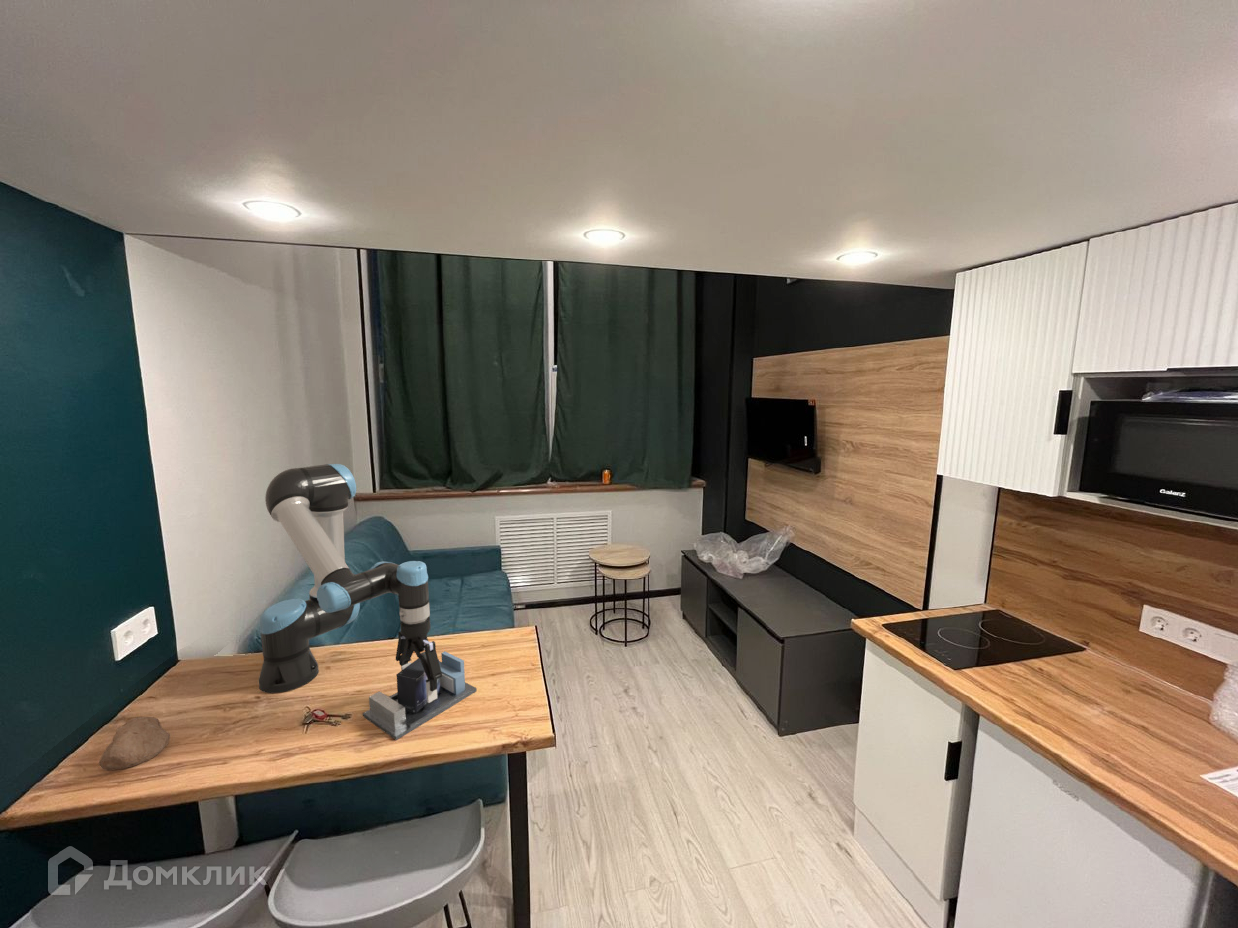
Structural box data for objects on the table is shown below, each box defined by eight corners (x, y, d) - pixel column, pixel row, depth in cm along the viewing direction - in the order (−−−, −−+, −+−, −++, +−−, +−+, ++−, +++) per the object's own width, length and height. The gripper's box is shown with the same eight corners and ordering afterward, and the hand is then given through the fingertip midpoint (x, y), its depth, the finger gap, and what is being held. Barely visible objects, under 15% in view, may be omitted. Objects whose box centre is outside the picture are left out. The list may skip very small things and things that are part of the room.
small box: (417, 714, 131) (414, 678, 129) (397, 710, 133) (394, 674, 131) (442, 692, 141) (440, 658, 139) (423, 688, 143) (421, 654, 141)
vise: (362, 716, 132) (361, 695, 131) (442, 673, 152) (441, 655, 151) (396, 740, 123) (394, 718, 122) (476, 691, 143) (475, 672, 142)
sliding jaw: (429, 681, 146) (428, 656, 145) (443, 674, 150) (441, 649, 149) (454, 695, 139) (453, 669, 138) (468, 687, 143) (467, 662, 142)
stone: (152, 743, 125) (119, 719, 121) (185, 723, 125) (153, 698, 122) (117, 786, 113) (80, 761, 110) (153, 764, 114) (117, 738, 110)
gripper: (378, 612, 137) (383, 685, 140) (428, 635, 124) (433, 715, 127) (403, 603, 143) (408, 672, 146) (453, 624, 130) (457, 700, 133)
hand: (419, 692), depth 137 cm, fingers open, 11 cm apart
